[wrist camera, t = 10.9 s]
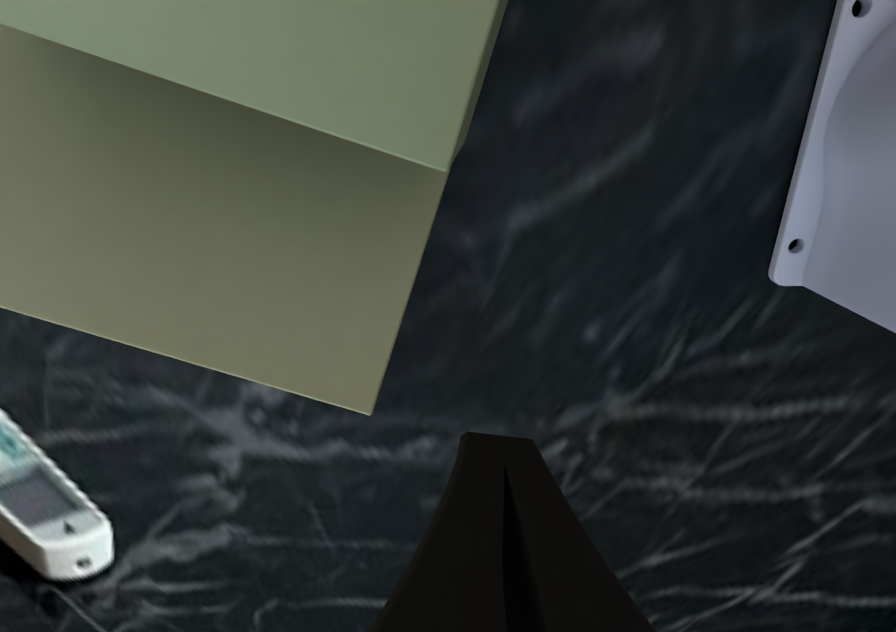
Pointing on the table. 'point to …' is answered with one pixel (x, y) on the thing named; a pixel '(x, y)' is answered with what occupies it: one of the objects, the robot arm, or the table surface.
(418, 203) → the oven door
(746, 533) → the table surface
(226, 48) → the oven
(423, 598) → the robot arm
